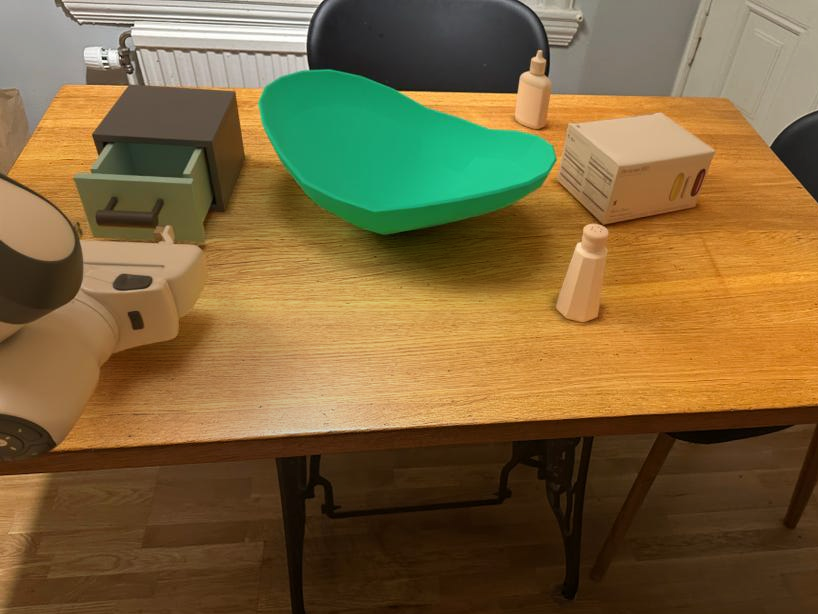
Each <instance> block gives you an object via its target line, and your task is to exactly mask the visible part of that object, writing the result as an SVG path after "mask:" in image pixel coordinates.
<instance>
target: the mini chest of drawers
mask: <svg viewBox="0 0 818 614" xmlns="http://www.w3.org/2000/svg"><path fill="white" fill-rule="evenodd" d="M240 120H241V119H240V113H239V107H238V100H237V93H236V90H224V89H223V90H222V89H207V88H194V87H193V88H192V87H175V86H163V85H162V86H161V85H146V84H131V83H130V84H128V85H127V86H126V88H125V89H124V91H123V92H122V93H121V95H120V96H119V97H118V99H117V100H116V101H115V102H114V104H113V105H112V107H111V108H110V110H108V112H107V113H106V115H104V117H103V119H102V120H101V121H100V123H99V124H98V125H97V126H96V128H95V129H94V131H92V133H91V137H92V139H93V144H94V147H95V150H96V153H97V156H98V157H99V155H100V154H101V152H102V151H103V149H104V148H105V147H106V145H107V144H108V142H120V143H137V144H155V145H173V146H191V147H206V152H207V157H208V162H209V168H210V173H211V178H212V183H213V189H214V194H215V195H214V198H213V200H212V203H211V205H210V207H209V210H208V212H209V211H210V212H225V211H226V209H227V206H228V204H229V201H230V199H231V195H232V193H233V190H234V188H235V185H236V183H237V180H238V178H239V175H240V173H241V169H242V167H243V164H244V161H245V159H246V155H245V146H244V139H243V134H242V128H241V127H242V126H241V121H240Z"/></svg>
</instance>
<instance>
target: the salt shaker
mask: <svg viewBox="0 0 818 614" xmlns="http://www.w3.org/2000/svg"><path fill="white" fill-rule="evenodd" d="M582 233H583V234H582V235H581V241H580V242H577V243H576V245H575V248H574V251H573V254H572V257H571V260H570V262H569V265H568V268H567V271H566V274H565V277H564V279H563V283H562V285H561V289H560V291H559V294H558V297H557V300H556V304H555V309H556V310H557V311H558V312H559V314H561V315H562V316H563V317H564V318H565V319H566V320H570V321H573V322H574V321H575V322H580V323H586V322H588V321H591V320H595V319H597V318H598V316H599V311H600V304H601V298H602V290H603V284H604V277H605V270H606V264H607V256H608V248H607V247H606V244H607V241H608V238H609V235H610V232H609V230H608V228H606V227H605V226H604V225H603V224H597V223H588V224H587V225H585V226H584V227H583V228H582Z"/></svg>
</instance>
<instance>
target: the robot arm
mask: <svg viewBox="0 0 818 614" xmlns="http://www.w3.org/2000/svg"><path fill="white" fill-rule="evenodd" d="M153 234H154V238H155V239H156V240H154V241H155V242H139V241H138V242H137V241H114V240H113V241H112V240H111V241H110V240H109V241H108V240H86V239H85V240H84V239H81V238H82V237H83V229H82V227H81V223H80V222H79V221H73V220H72V221H71V220H70V219H69V218H68V216H67V215H66V214H65V212H63V210H61V209H60V208H59V207H58V206H57V205H56V204H55V203H53V202H52V201H51V200H49V199H48V198H46V197H45V196H43V195H42V194H41V193H39V192H37V191H36V190H33V189H32V188H30V187H28V186H26V185H25V184H23V183H21V182H19V181H18V180H16V179H14V178H12V177H10V176H8V175H7V174H5V173H2V172H0V462H22V461H27V460H30V459H34V458H38V457H41V456H43V455H45V454H48V453H49V452H51V451H53V450H55V449H56V448H57V447H59V446H60V445H61V444H62V443H63V442H64V441H65V439H66V438H67V437H68V436H69V434H70V433H71V432H72V431H73V429H74V427H75V426H76V425H77V423H78V421H79V419H80V418H81V416H82V415H83V413H84V412H85V409H86V408H87V406H88V404H89V403H90V400H91V399H92V396H93V395H94V393H95V391H96V388H97V387H98V384H99V381H100V376H101V375H100V374H101V367H102V366H103V365H104V364H105V363H106V362H107V361H109V359H110V358H111V356H112V355H113V354H116V353H119V352H123V351H126V350H130V349H133V348H136V347H141V346H145V345H151V344H156V343H162V342H167V341H171V340H173V339H175V338H176V337H177V336H178V334H179V332H180V324H179V319H182V318H183V317H185V316H186V315H188V314H189V313H190V312H191V311H192V310H193V308H194V307H195V305H196V304H197V302H198V301H199V299H200V297H201V295H202V293H203V291H204V289H205V286H206V284H207V281H208V279H209V278H208V277H209V269H208V264H207V259H206V256H205V252H204V251H203V250H202V249H201V248H200V246H199V245H197V244H191V243H189V244H187V243H175V241H174V232H173V228H172V226H162V225H157V226H156V229H155V230H154V232H153Z"/></svg>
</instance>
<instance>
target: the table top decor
mask: <svg viewBox="0 0 818 614" xmlns="http://www.w3.org/2000/svg"><path fill="white" fill-rule="evenodd" d="M257 106H258V110H259V116H260V120H261V126H262V127H263V130H264V132H265V134H266V136H267V138H268V140H269V142H270V144H271V146H272V148H273V149H274V151H275V153H276V155H277V156H278V159H279V161H280V162H281V164H282V166H283V168H285V170H286V171H287V172H288V174H289V175H290V176H291V178H292V179H293V180H294V181H295V183H296V184H297V185H298V186H299V188H301V190H302V191H303V192H304V194H306V196H307V197H308V198H309V199H310V200H312V201H313V202H314V203H315V204H316V206H318V207H320V208H321V209H323V210H325V211H327V212H328V213H330V214H332V215H334V216H336V217H338V218H340V219H341V220H343V221H346V222H347V223H349V224H351V225H353V226H354V227H356V228H358V229H361V230H366V231H369V232H372V233H376V234H380V235H383V236H385V235H391V234H397V233H402V232H408V231H413V230H414V231H416V230H417V231H418V230H424V229H429V228H434V227H438V226H443V225H446V224H450V223H451V224H452V223H454V222H459V221H463V220H466V219H470V218H474V217H475V218H476V217H479V216H482V215H486V214H489V213H493V212H496V211H498V210H501V209H504V208H507V207H510V206H511V205H513V204H515V203H517V202H518V201H520V200H522V199H523V198H525V197H527V196H529V195H530V194H532V193H534V192H535V191H537V190H538V189H540V188H542V186H543V185H544V183H545V181H546V180H547V178H548V176H549V175H550V173H551V171H552V170H553V168H554V166H555V165H556V163H557V161H558V159H557V158H558V157H557V154H556V151H555V146H554V145H553V144H552V143H550V142H549V141H547V140H546V139H544V138H543V137H541V136H539V135H536V134H532V133H528V132H524V131H520V130H515V129H513V130H512V129H498V128H497V129H495V128H488V127H485V126H484V125H483V126H482V125H480V124H477V123H475V122H472V121H469V120H467V119H465V118H462V117H459V116H456V115H452V114H449V113H446V112H443V111H439V110H436V109H433V108H430V107H426V106H425V105H423V104H421V103H420V102H418V101H416V100H414V99H413V98H411V97H409V96H407V95H406V94H404V93H402V92H400V91H398V90H397V89H395V88H393V87H390V86H387V85H385V84H382V83H380V82H377V81H374V80H373V79H370V78H367V77H365V76H362V75H359V74H354V73H349V72H344V71H340V70H334V69H329V68H328V69H327V68H326V69H307V70H306V69H304V70H303V69H302V70H299V71H295V72H292V73H288V74H285V75H282V76H279V77H278V78H276V79H274V80H273V81H272V82H270V83H268V84H266V85H265V86H264V87H263V90H262V92H261V94H260V97H259V99H258V101H257Z"/></svg>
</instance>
